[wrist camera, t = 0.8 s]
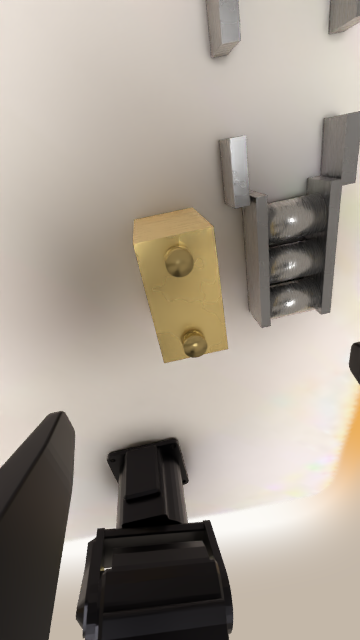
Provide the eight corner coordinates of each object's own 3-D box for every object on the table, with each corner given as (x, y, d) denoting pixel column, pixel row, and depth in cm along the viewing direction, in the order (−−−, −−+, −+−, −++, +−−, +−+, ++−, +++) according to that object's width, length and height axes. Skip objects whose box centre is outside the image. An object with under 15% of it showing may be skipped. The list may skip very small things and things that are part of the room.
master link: (206, 303, 20) (231, 356, 15) (157, 314, 20) (165, 371, 15) (192, 207, 17) (217, 230, 12) (133, 219, 17) (132, 248, 12)
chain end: (324, 295, 21) (344, 310, 19) (235, 315, 21) (246, 332, 19) (338, 115, 16) (368, 109, 14) (219, 140, 16) (232, 137, 14)
